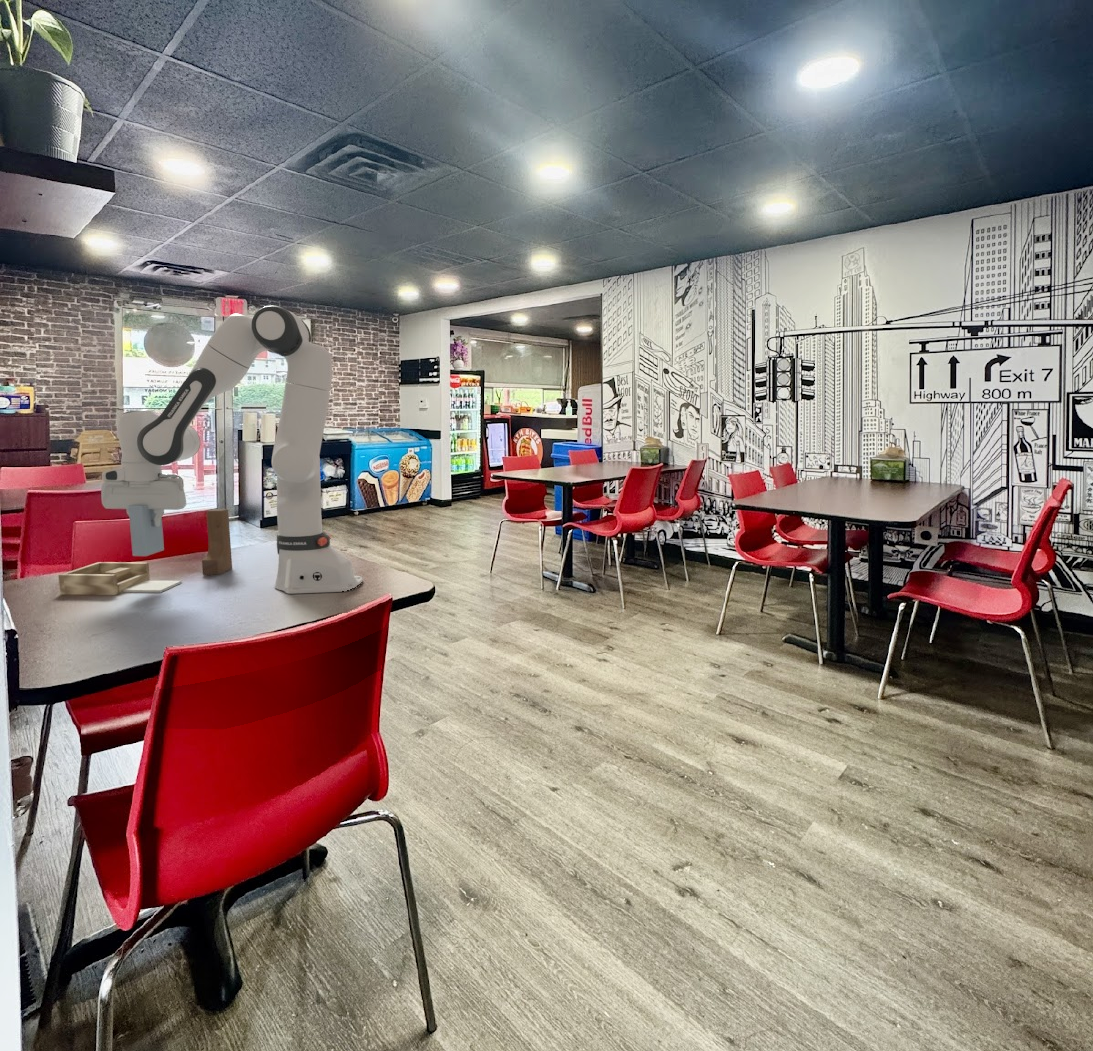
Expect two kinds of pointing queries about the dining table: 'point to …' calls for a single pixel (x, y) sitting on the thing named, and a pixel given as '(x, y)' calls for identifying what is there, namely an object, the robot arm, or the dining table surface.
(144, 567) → the tray
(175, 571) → the dining table surface
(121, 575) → the offcut oak
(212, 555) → the wooden block
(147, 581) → the felt pad
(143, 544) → the grey block
